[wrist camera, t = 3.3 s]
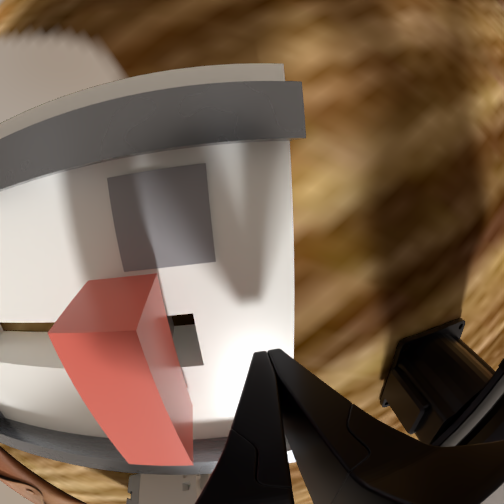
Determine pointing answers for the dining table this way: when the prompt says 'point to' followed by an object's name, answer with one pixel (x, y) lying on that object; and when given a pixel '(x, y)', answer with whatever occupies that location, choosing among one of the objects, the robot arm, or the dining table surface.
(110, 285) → the lever
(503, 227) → the dining table surface
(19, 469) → the sunglasses case
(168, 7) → the dining table surface
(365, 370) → the dining table surface
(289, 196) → the switch panel
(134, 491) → the circuit breaker
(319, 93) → the dining table surface
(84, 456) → the grey frame
